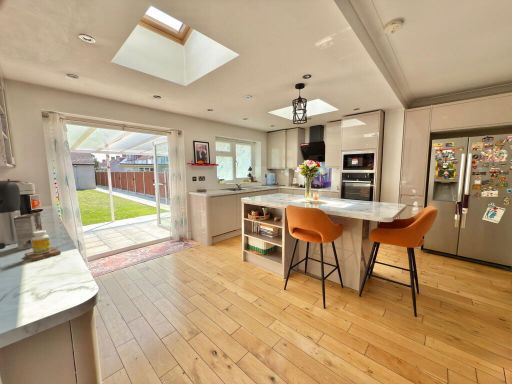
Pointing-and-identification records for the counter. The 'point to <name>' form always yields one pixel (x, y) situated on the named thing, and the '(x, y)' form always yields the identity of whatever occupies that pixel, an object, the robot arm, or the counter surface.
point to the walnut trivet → (39, 256)
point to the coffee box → (26, 229)
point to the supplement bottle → (40, 242)
